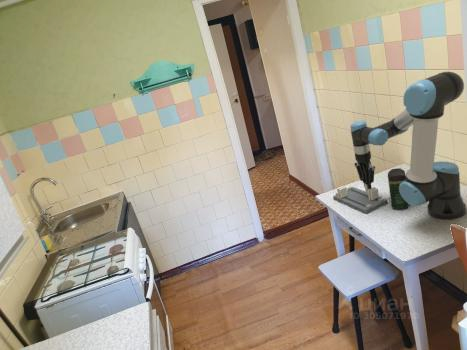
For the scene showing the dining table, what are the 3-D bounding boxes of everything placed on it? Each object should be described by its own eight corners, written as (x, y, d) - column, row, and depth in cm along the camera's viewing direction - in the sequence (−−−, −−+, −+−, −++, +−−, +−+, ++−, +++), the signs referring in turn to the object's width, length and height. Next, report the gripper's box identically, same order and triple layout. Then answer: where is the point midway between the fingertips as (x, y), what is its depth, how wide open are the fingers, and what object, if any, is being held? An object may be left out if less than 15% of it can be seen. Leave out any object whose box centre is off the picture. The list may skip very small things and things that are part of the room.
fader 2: (379, 197, 192) (377, 188, 190) (372, 200, 191) (371, 191, 189) (374, 195, 194) (373, 187, 193) (368, 198, 193) (367, 189, 192)
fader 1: (347, 195, 203) (346, 187, 201) (341, 198, 202) (340, 189, 200) (344, 193, 206) (342, 185, 204) (338, 196, 204) (336, 188, 203)
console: (388, 203, 189) (387, 197, 187) (366, 214, 185) (365, 208, 184) (353, 190, 212) (352, 185, 211) (333, 199, 208) (332, 194, 207)
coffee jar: (409, 209, 178) (405, 174, 172) (391, 210, 181) (386, 175, 175) (408, 200, 186) (404, 166, 180) (391, 201, 189) (387, 167, 183)
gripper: (377, 151, 183) (383, 194, 190) (359, 147, 194) (366, 188, 202) (365, 156, 180) (372, 200, 188) (347, 152, 192) (354, 193, 200)
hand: (368, 194), depth 195 cm, fingers closed
